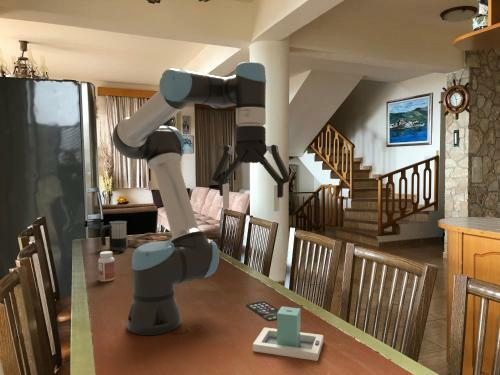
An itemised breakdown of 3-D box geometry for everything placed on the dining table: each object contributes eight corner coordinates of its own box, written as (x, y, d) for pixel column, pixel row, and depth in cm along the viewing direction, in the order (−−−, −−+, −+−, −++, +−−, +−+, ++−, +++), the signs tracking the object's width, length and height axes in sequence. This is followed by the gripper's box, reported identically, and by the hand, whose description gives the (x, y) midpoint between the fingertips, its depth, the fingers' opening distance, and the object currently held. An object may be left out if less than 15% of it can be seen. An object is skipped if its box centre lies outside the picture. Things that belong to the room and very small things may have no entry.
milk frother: (121, 246, 222) (120, 220, 221) (138, 249, 212) (137, 222, 211) (97, 250, 211) (97, 223, 210) (115, 254, 201) (114, 226, 200)
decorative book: (154, 248, 216) (154, 239, 216) (142, 244, 229) (141, 235, 229) (172, 246, 223) (172, 237, 223) (160, 241, 236) (160, 233, 236)
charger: (277, 348, 99) (277, 313, 98) (281, 339, 104) (281, 306, 103) (296, 351, 97) (296, 315, 97) (300, 342, 102) (300, 308, 101)
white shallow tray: (252, 351, 98) (252, 342, 98) (264, 333, 108) (264, 326, 108) (317, 360, 93) (317, 352, 93) (323, 341, 103) (323, 334, 103)
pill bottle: (117, 277, 162) (116, 250, 161) (112, 281, 155) (111, 254, 155) (101, 277, 161) (101, 250, 161) (96, 281, 155) (95, 254, 154)
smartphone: (268, 320, 116) (244, 304, 129) (268, 323, 116) (244, 306, 129) (289, 316, 120) (264, 300, 133) (289, 318, 120) (264, 302, 133)
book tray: (127, 246, 221) (127, 239, 221) (148, 239, 241) (148, 232, 241) (164, 249, 214) (164, 241, 213) (183, 241, 234) (183, 235, 234)
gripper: (199, 126, 100) (200, 209, 101) (296, 123, 92) (296, 213, 93) (211, 128, 107) (211, 206, 108) (302, 125, 99) (301, 209, 101)
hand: (250, 209), depth 101 cm, fingers open, 13 cm apart
